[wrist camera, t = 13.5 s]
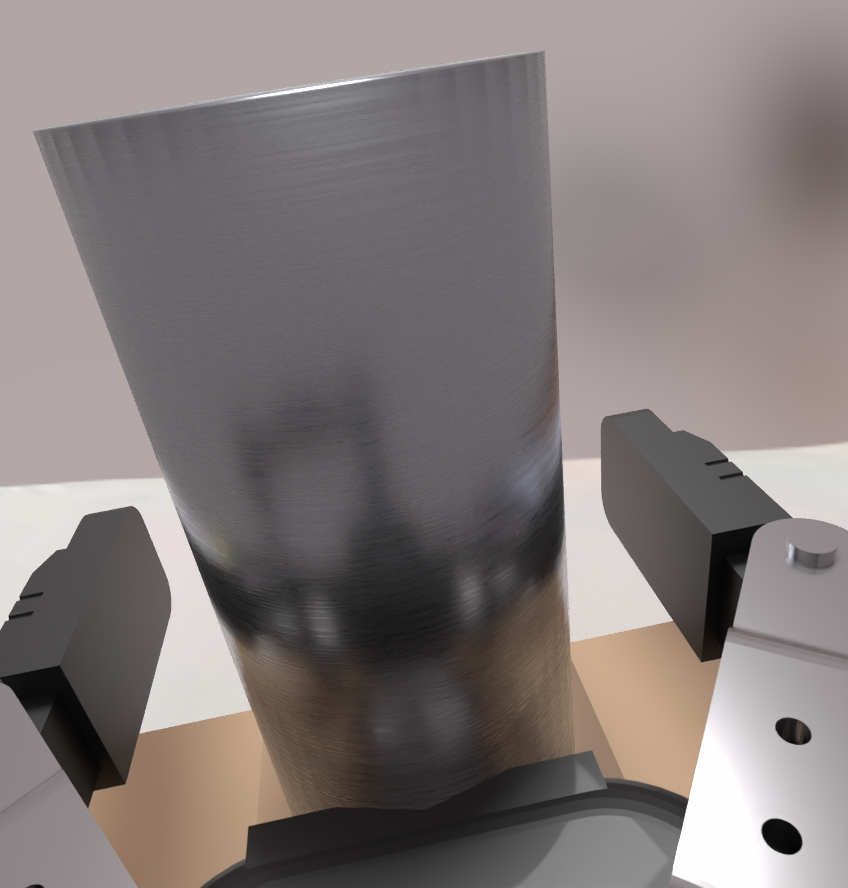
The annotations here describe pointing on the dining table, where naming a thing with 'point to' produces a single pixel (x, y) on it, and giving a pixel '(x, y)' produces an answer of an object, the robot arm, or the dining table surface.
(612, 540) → the dining table surface
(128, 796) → the keyhole plate
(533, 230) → the keyhole post
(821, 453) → the dining table surface
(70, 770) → the robot arm
